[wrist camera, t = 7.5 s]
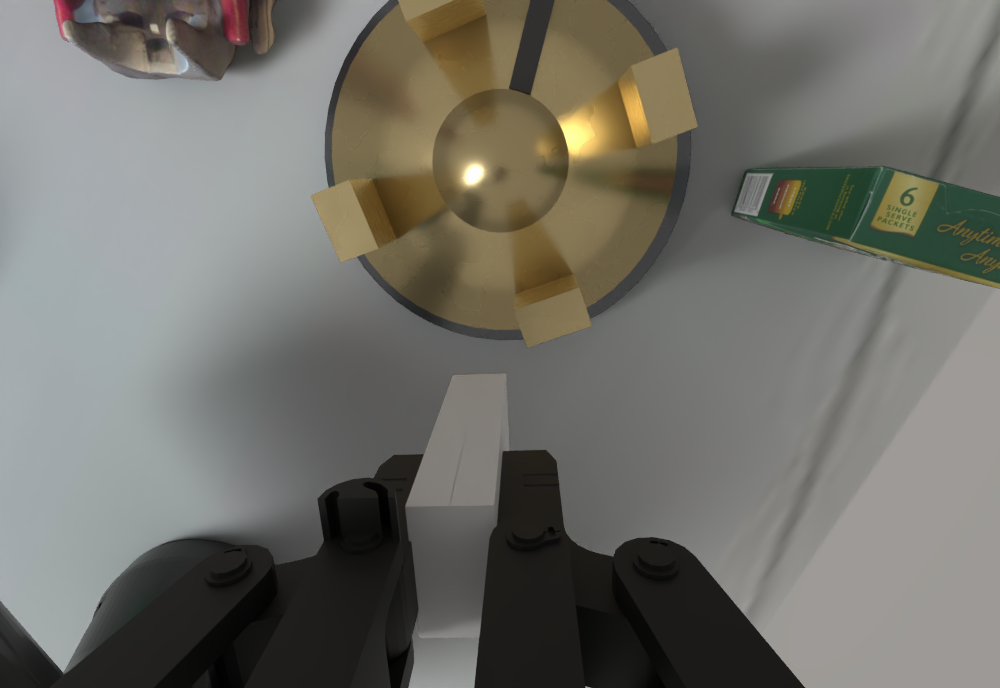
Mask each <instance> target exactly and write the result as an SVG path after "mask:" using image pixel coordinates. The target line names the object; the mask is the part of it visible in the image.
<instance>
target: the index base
mask: <svg viewBox="0 0 1000 688" xmlns="http://www.w3.org/2000/svg"><path fill="white" fill-rule="evenodd" d="M607 1H608V2H609V3H610V4H612V5H613V6H614V7H615V8H616V9H618V10H619V11H620V12H621V13H622V14H623V15H624V16H625V17H626V18H627V19H628V21H629V22H630V23H631V24H632V25H633V26H634V27H635V28H636V29H637V31H638V32H639V33H640V35H641V36H642V38H643V39H644V41H645V42H646V44H647V45H648V47H649V48H650V50H651V51H652V53H653V55H654V56H657V55H659V54H662V53H664V52H667V50H666V47H665V46H664V44H663V43H662V41H661V40H660V38H659V37H658V35H657V34H656V32H655V31H654V29H653V28H652V26H651V25H650V23H649V22H648V21H647V20H646V19H645V18H644V17H643V16H642V14H641V13H640V12H639V11H638V10H637V9H636V8H635V7H634V5H633V4H631V3H630V2H629V1H628V0H607ZM398 4H399V2H398V0H389V1H388V2H387V3H386V4H385V5H384V6H383V7H382V8H381V9H380V10H379V11H378V12H377V13H376V14H375V15H374V16H373V17H372V19H371V20H370V21H369V23H368V24H367V25H366V27H365V28H364V29H363V31H362V32H361V33H360V34H359V36H358V37H357V39H356V41H355V43H354V44H353V46H352V48H351V50H350V51H349V53H348V55H347V56H346V58H345V60H344V63H343V65H342V68H341V70H340V73H339V75H338V77H337V80H336V82H335V86H334V90H333V93H332V97H331V101H330V105H329V109H328V116H327V124H326V131H325V163H326V172H327V181H328V186H329V188H330V187H332V186H335V181H334V173H333V164H332V131H333V124H334V117H335V110H336V106H337V102H338V99H339V95H340V91H341V87H342V85H343V82H344V80H345V77H346V75H347V73H348V70H349V68H350V65H351V63H352V61H353V60H354V58H355V56H356V55H357V53H358V51H359V49H360V48H361V46H362V44H363V42H364V41H365V40H366V39H367V37H368V36H369V35H370V33H371V32H372V31H373V29H374V28H375V27H376V26H377V24H378V23H379V22H380V21H381V20H382V19H383V18H384V17H385V16H386V15H387V14H388V13H389V12H390V11H391V10H392V9H393V8H394V7H395V6H396V5H398ZM690 156H691V136H690V130H688V131H686V132H683V133H680V134H678V135H677V162H676V173H675V178H674V184H673V189H672V194H671V197H670V201H669V204H668V207H667V210H666V213H665V216H664V218H663V221H662V223H661V225H660V227H659V229H658V231H657V234H656V236H655V238H654V239H653V241H652V243H651V244H650V246H649V247H648V249H647V251H646V252H645V254H644V256H643V257H642V258H641V260H640V261H639V262H638V263H637V265H636V266H635V267H634V268H633V269H632V271H631V272H630V273H629V274H628V275H627V276H626V277H625V278H624V279H623V280H622V281H621V282H620V283H619V284H618V285H617V286H616V287H615V288H614V289H613V290H612V291H610V292H609V293H607V294H606V295H605V296H603V297H602V298H601V299H599V300H598V301H597V302H595V303H594V304H592V305H590V306H588V307H587V308H586V309H587V312H588V315H589V318H590V319H591V318H592V317H594V316H596V315H598V314H600V313H601V312H603V311H604V310H606V309H607V308H609V307H610V306H611V305H613V304H614V303H615V302H617V301H618V300H619V299H621V298H622V297H623V296H624V295H625V294H626V293H627V292H628V291H629V290H630V289H631V288H632V287H634V286H635V285H636V284H637V283H638V282H639V280H640V279H641V278H642V277H643V276H644V274H645V273H646V272H647V271H648V270H649V268H650V267H651V266H652V265H653V263H654V262H655V260H656V259H657V257H658V255H659V254H660V252H661V251H662V249H663V248H664V246H665V244H666V243H667V241H668V238H669V236H670V234H671V232H672V230H673V228H674V226H675V224H676V222H677V219H678V216H679V213H680V210H681V207H682V204H683V201H684V197H685V192H686V187H687V182H688V177H689V170H690ZM357 257H358V259H359V260H360V262H361V263H362V265H363V266H364V268H365V269H366V270H367V271H368V273H369V274H370V275H371V276H372V277H373V278H374V280H375V281H376V282H377V283H378V284H379V285H380V286H381V287H382V288H383V289H384V290H385V291H386V292H387V293H388V294H390V295H391V296H392V297H393V298H394V299H395V300H396V301H397V302H399V303H400V304H402V305H403V306H404V307H406V308H407V309H409V310H410V311H412V312H413V313H414V314H416V315H418V316H420V317H422V318H424V319H425V320H427V321H429V322H431V323H433V324H435V325H438V326H440V327H443V328H445V329H448V330H451V331H453V332H456V333H460V334H464V335H469V336H473V337H477V338H486V339H494V340H521V339H524V338H523V335H522V332H521V330H520V329H518V330H492V329H483V328H475V327H471V326H467V325H463V324H458V323H455V322H452V321H449V320H447V319H444V318H442V317H439V316H436V315H434V314H432V313H430V312H429V311H427V310H425V309H423V308H421V307H419V306H417V305H416V304H414V303H413V302H412V301H410V300H409V299H407V298H406V297H404V296H403V295H402V294H400V293H399V292H398V291H397V290H396V289H395V288H393V287H392V286H391V285H390V284H389V283H388V282H387V281H386V280H385V279H384V278H383V277H382V276H381V275H380V274H379V273H378V271H377V270H376V269H375V268H374V267H373V266H372V264H371V263H370V262H369V261H368V259H367V258H366V256H365V255H364V254H362V255H360V256H357Z"/></svg>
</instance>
